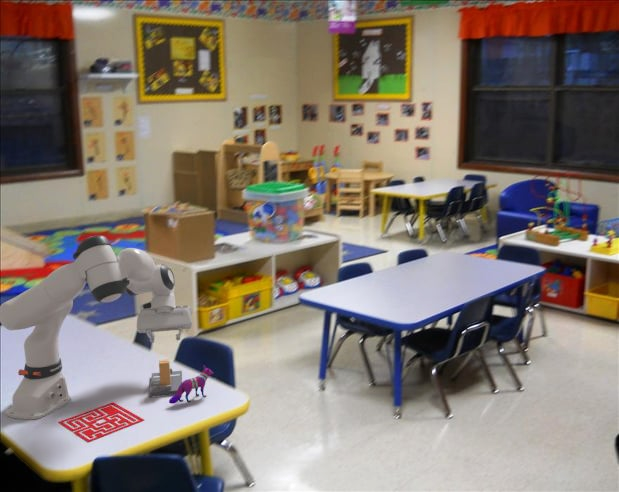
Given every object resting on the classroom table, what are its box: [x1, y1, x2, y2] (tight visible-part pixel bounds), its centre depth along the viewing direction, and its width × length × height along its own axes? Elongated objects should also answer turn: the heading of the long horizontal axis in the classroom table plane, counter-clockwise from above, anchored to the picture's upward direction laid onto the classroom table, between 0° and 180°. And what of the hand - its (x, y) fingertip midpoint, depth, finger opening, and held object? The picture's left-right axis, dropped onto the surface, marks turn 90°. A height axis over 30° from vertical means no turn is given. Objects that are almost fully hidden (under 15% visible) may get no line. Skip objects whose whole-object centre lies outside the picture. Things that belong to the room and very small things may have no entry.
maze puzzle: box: [58, 401, 145, 443], centre depth 237 cm, size 20×20×1 cm
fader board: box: [149, 367, 183, 398], centre depth 264 cm, size 18×11×3 cm, turn 9°
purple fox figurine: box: [168, 364, 214, 405], centre depth 251 cm, size 4×18×10 cm, turn 130°
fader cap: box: [158, 358, 171, 386], centre depth 259 cm, size 4×4×9 cm
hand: (165, 340), depth 267 cm, fingers open, 8 cm apart
